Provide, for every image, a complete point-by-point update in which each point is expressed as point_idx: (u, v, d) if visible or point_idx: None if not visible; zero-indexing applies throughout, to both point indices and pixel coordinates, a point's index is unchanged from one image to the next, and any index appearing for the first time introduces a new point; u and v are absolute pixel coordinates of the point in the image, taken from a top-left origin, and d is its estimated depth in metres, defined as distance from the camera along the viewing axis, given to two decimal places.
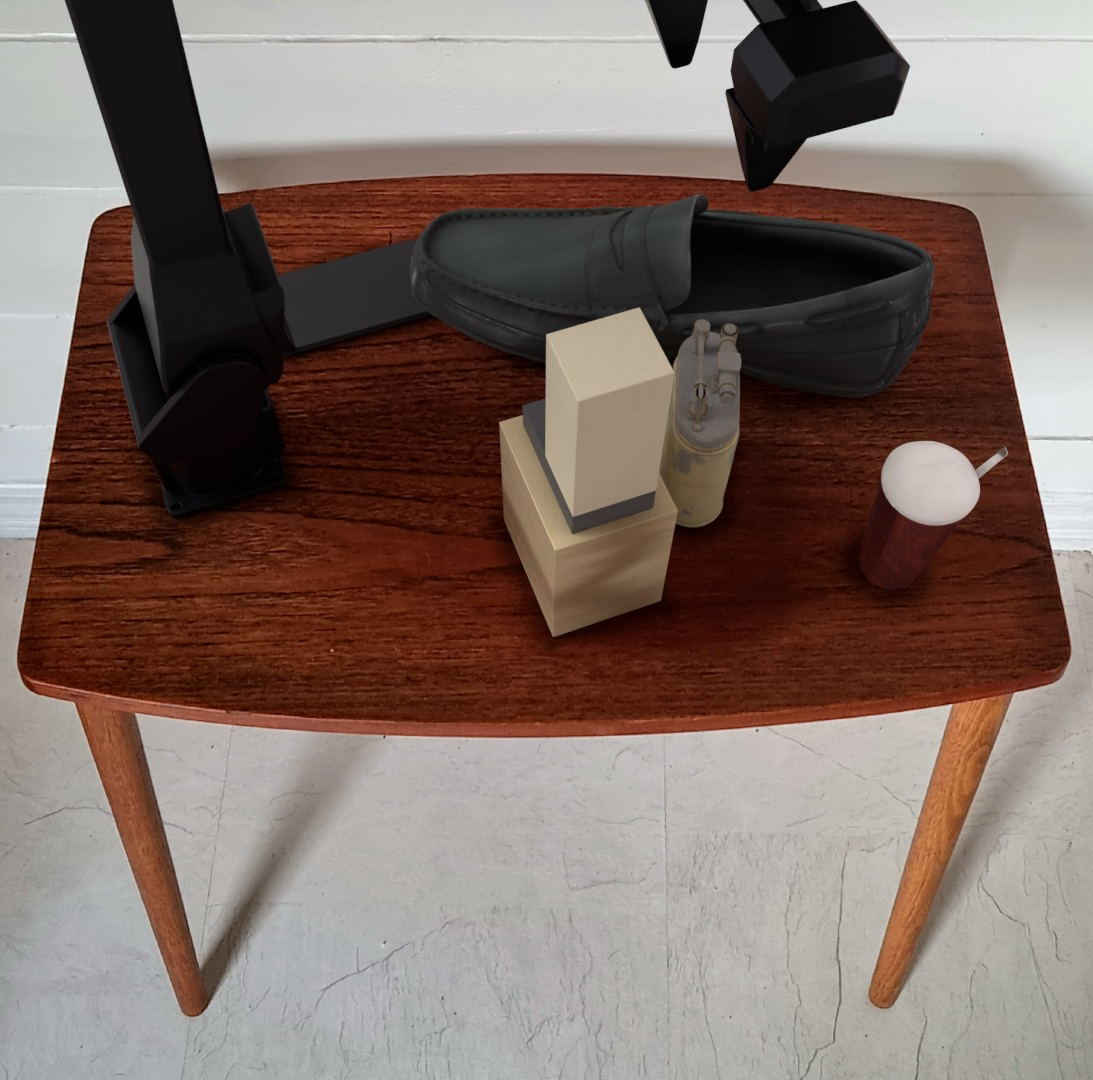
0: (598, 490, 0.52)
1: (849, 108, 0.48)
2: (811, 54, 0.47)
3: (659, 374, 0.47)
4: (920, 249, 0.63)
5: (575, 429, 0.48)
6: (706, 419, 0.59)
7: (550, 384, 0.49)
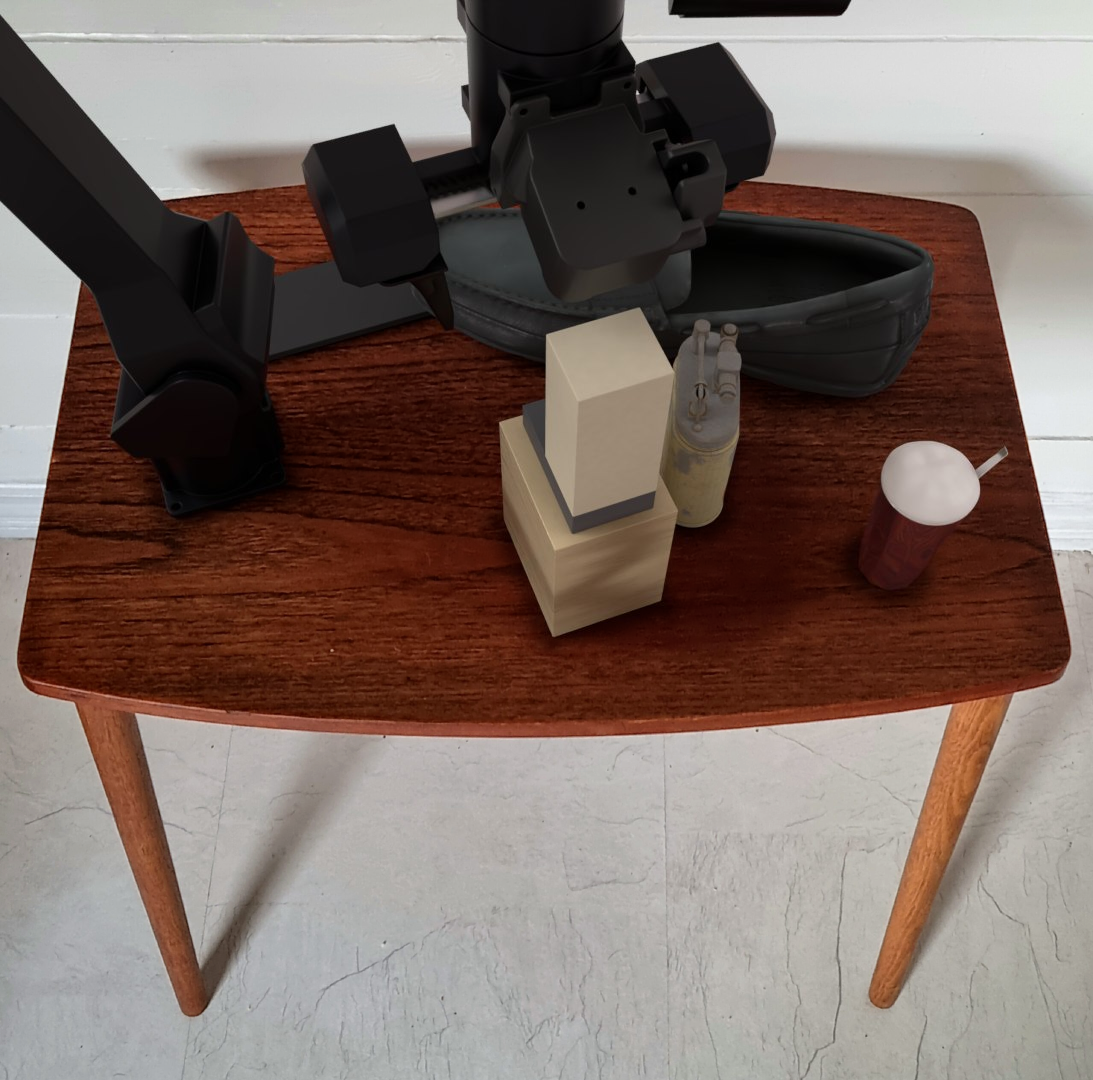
0: (598, 490, 0.52)
1: (323, 223, 0.48)
2: (346, 158, 0.47)
3: (659, 374, 0.47)
4: (920, 249, 0.63)
5: (575, 429, 0.48)
6: (706, 419, 0.59)
7: (550, 384, 0.49)
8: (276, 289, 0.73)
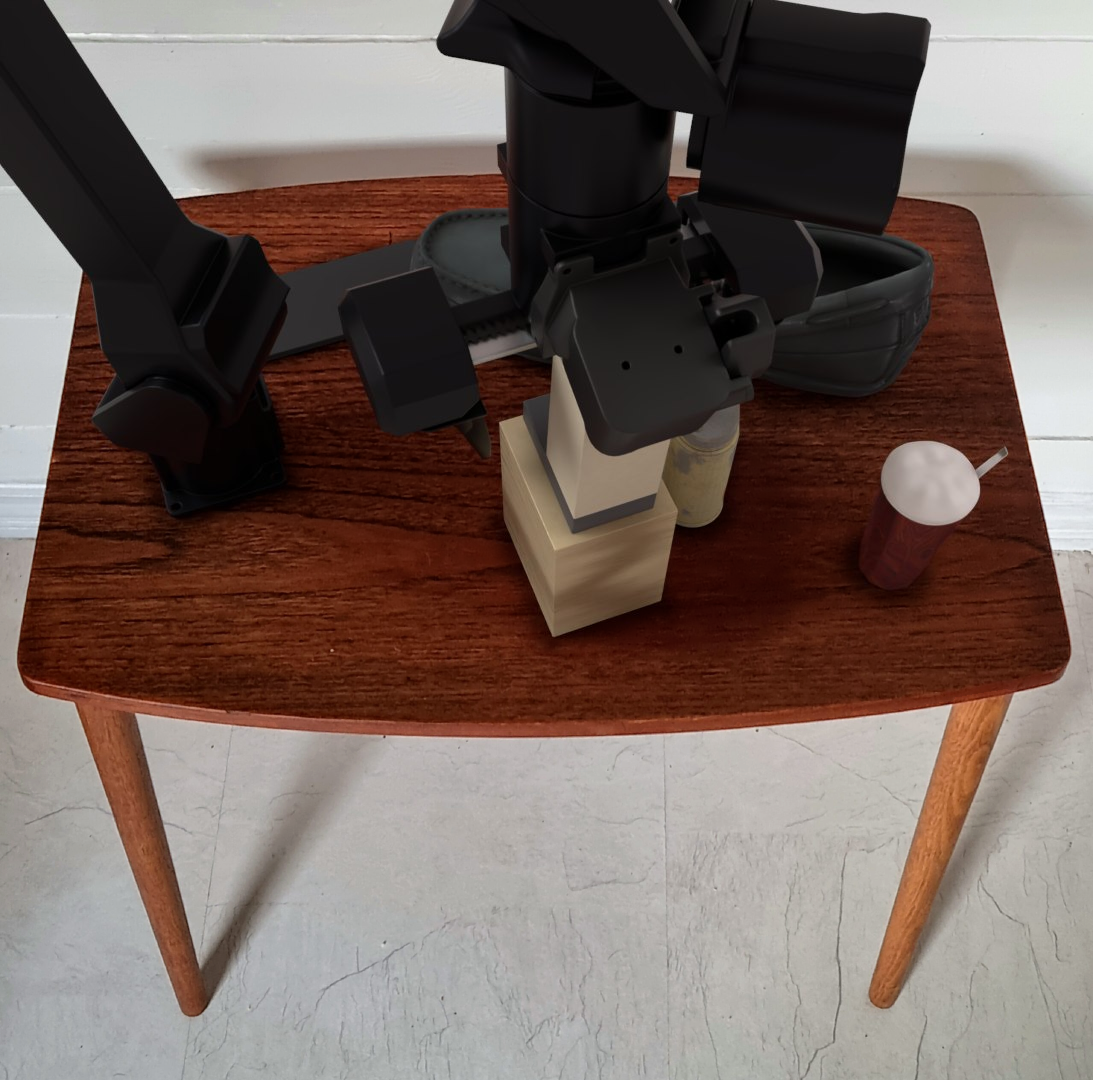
0: (600, 495, 0.52)
1: (360, 370, 0.47)
2: (384, 305, 0.46)
3: None
4: (920, 248, 0.63)
5: (581, 442, 0.47)
6: None
7: (555, 392, 0.49)
8: None
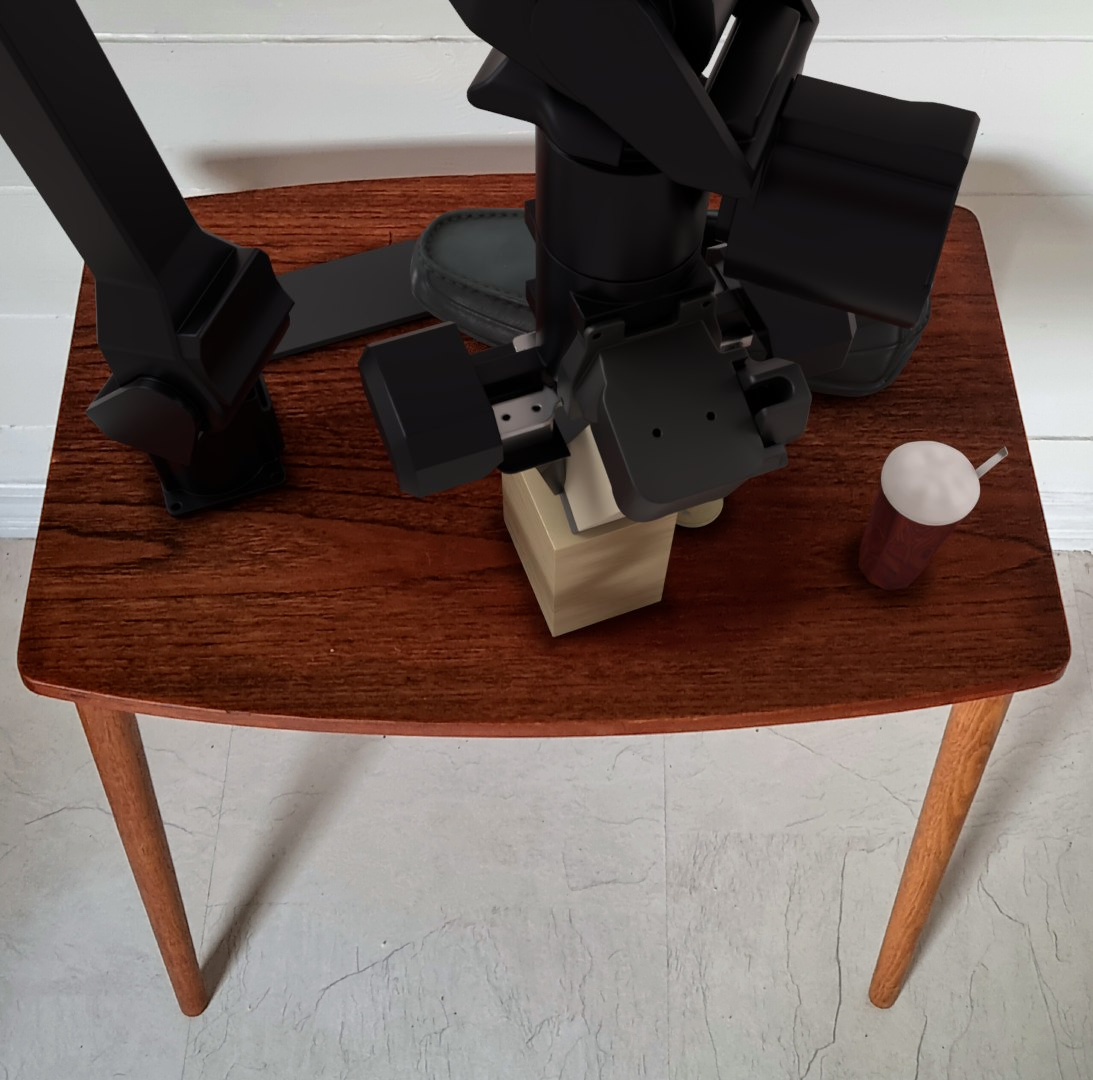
0: (610, 520, 0.52)
1: (380, 429, 0.46)
2: (405, 363, 0.45)
3: None
4: None
5: (609, 513, 0.47)
6: None
7: (584, 447, 0.47)
8: None
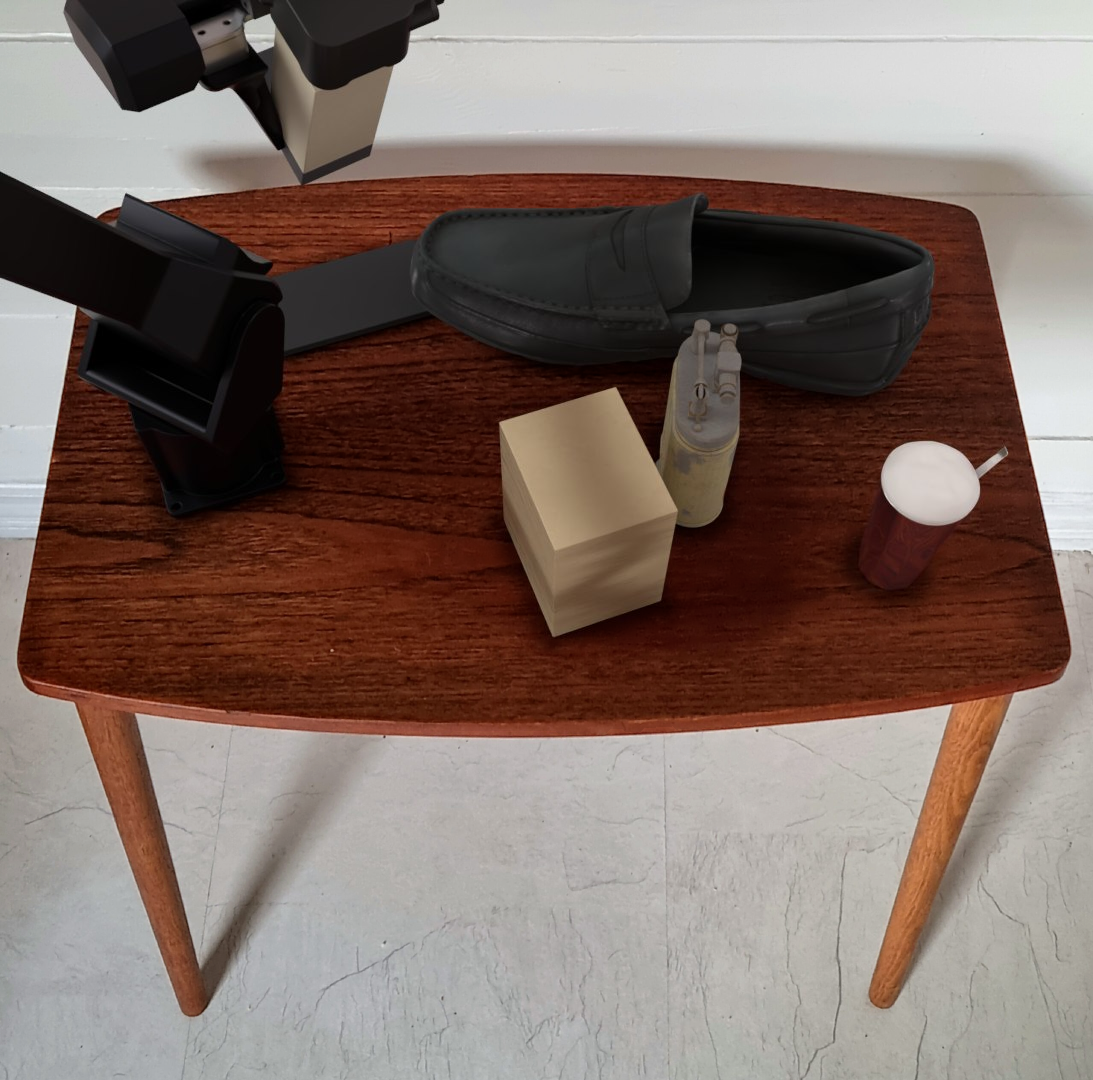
0: (326, 151, 0.59)
1: (93, 61, 0.52)
2: None
3: None
4: (920, 247, 0.63)
5: (310, 111, 0.54)
6: (706, 419, 0.59)
7: (279, 63, 0.55)
8: None
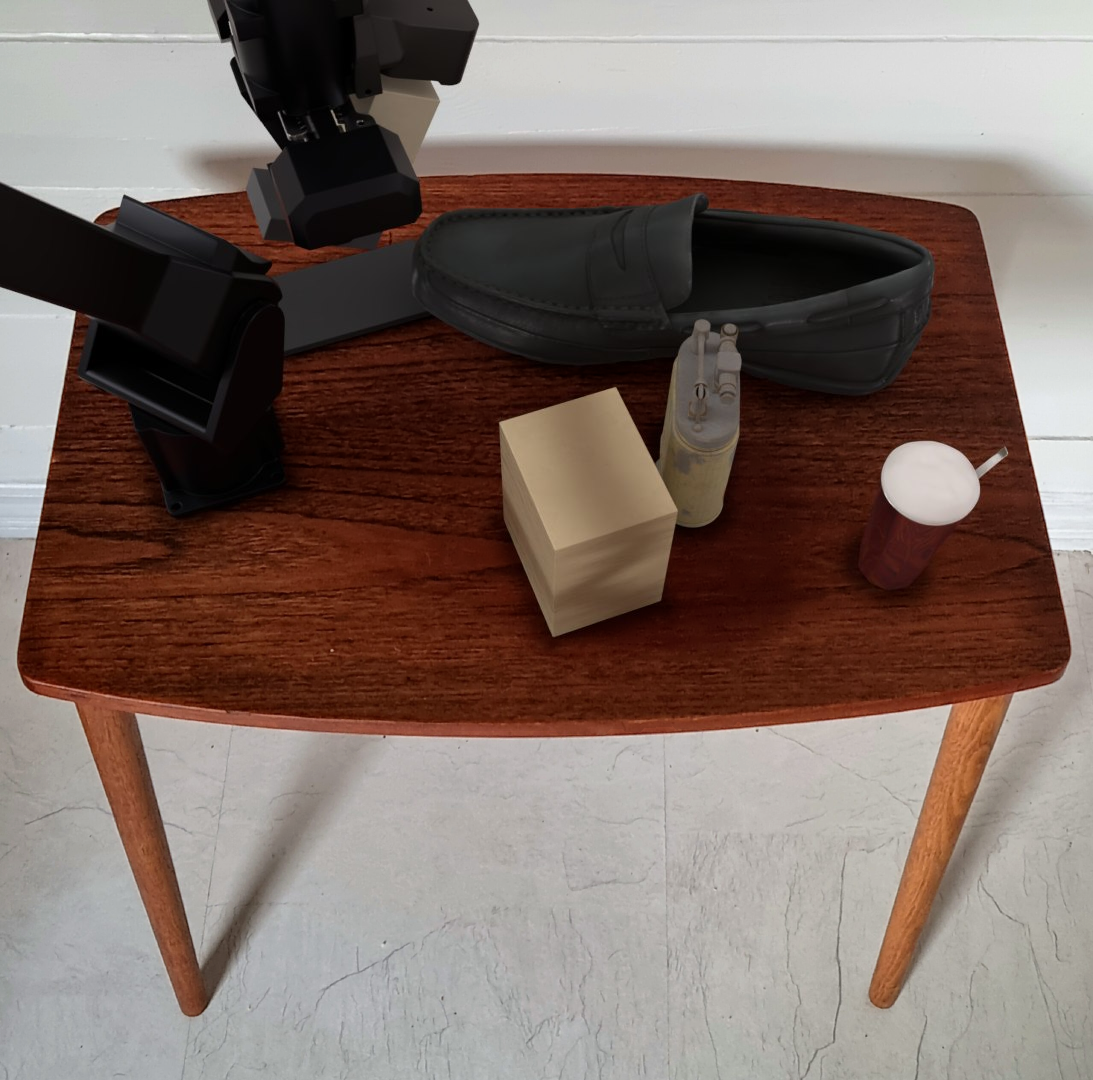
0: None
1: (366, 219, 0.56)
2: (324, 174, 0.55)
3: None
4: (921, 247, 0.63)
5: (424, 133, 0.62)
6: (706, 419, 0.59)
7: None
8: None
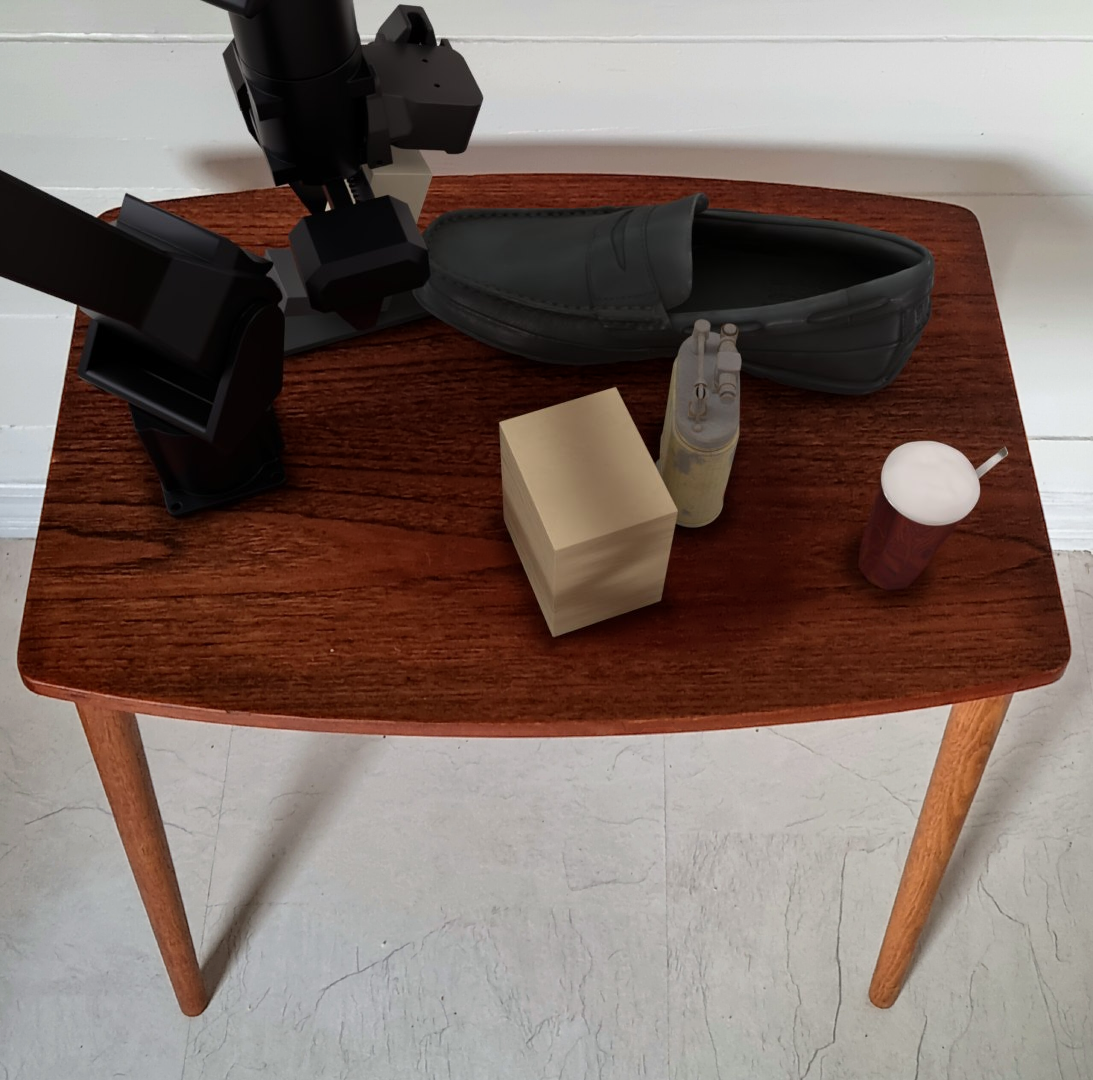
0: None
1: (378, 284, 0.59)
2: (339, 244, 0.58)
3: None
4: (921, 246, 0.63)
5: (421, 204, 0.66)
6: (706, 419, 0.59)
7: None
8: None
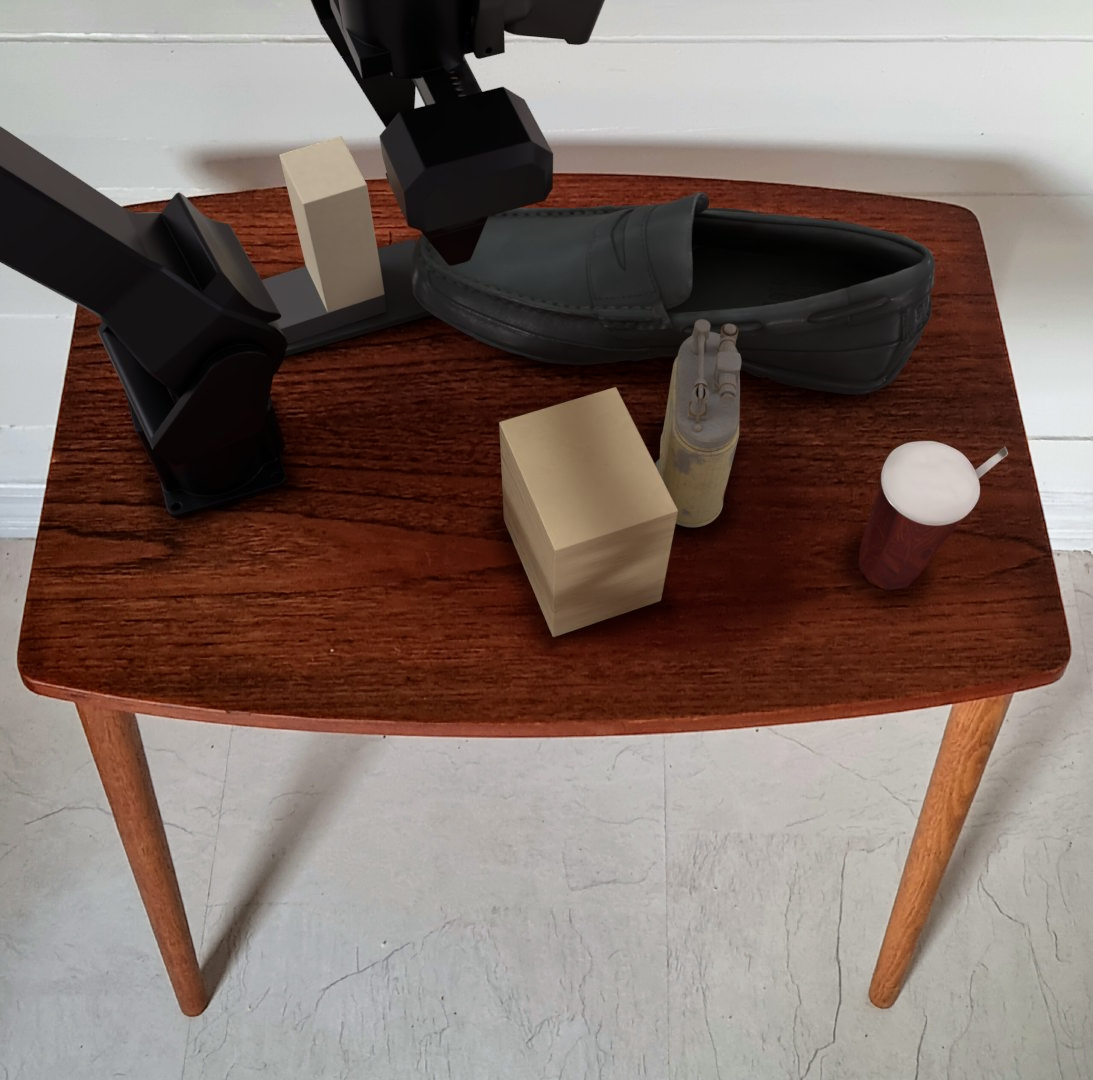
0: None
1: (492, 196, 0.48)
2: (446, 143, 0.47)
3: (343, 143, 0.65)
4: (921, 246, 0.63)
5: (369, 213, 0.65)
6: (706, 419, 0.59)
7: (321, 235, 0.65)
8: None
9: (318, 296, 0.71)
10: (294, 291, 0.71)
